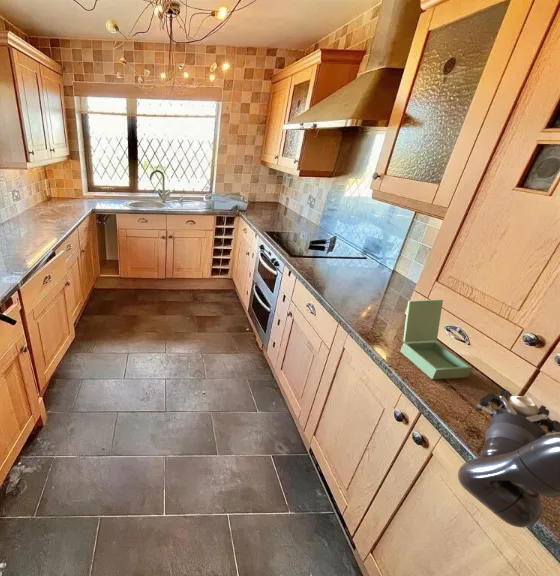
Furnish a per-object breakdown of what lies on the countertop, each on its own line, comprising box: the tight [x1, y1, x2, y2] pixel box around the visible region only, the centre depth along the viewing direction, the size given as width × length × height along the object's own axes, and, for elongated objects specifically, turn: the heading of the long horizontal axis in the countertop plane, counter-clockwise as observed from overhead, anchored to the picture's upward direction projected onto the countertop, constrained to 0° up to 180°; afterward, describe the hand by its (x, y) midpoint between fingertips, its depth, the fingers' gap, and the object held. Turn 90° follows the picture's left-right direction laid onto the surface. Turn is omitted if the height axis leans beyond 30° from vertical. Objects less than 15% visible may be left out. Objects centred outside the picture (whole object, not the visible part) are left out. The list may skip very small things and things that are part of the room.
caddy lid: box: [402, 298, 444, 343], centre depth 103 cm, size 14×11×4 cm
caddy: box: [400, 340, 473, 380], centre depth 98 cm, size 13×11×4 cm
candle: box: [507, 395, 540, 416], centre depth 75 cm, size 6×6×10 cm
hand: (523, 400), depth 75 cm, fingers closed on candle, 5 cm apart
